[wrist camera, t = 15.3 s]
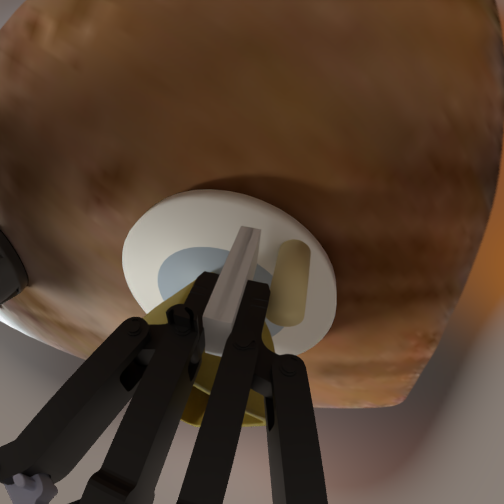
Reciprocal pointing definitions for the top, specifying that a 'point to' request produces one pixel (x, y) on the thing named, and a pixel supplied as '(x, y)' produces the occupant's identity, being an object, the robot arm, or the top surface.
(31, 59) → the top surface
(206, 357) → the flower pot
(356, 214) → the top surface
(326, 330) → the disc
